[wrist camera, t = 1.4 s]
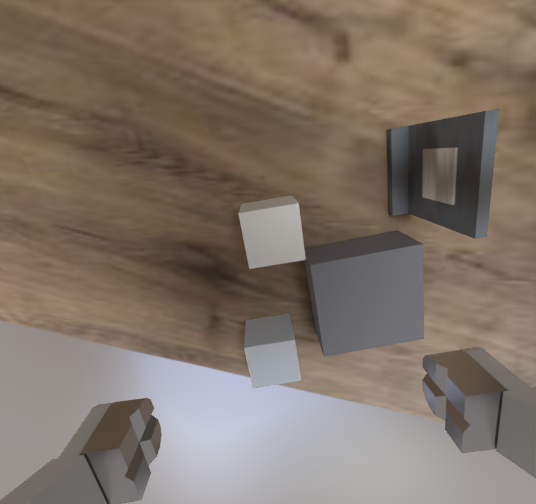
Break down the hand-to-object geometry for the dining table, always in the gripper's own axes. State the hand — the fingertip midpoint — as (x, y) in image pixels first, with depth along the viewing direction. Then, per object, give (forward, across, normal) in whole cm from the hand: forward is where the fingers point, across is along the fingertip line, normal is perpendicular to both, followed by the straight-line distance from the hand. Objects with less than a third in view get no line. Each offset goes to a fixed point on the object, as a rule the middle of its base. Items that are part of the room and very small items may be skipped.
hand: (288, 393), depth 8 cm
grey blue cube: (+22, +2, +12) cm, 25 cm away
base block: (+22, -8, +7) cm, 25 cm away
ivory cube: (+22, 0, -1) cm, 22 cm away
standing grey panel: (+21, -14, -4) cm, 26 cm away
